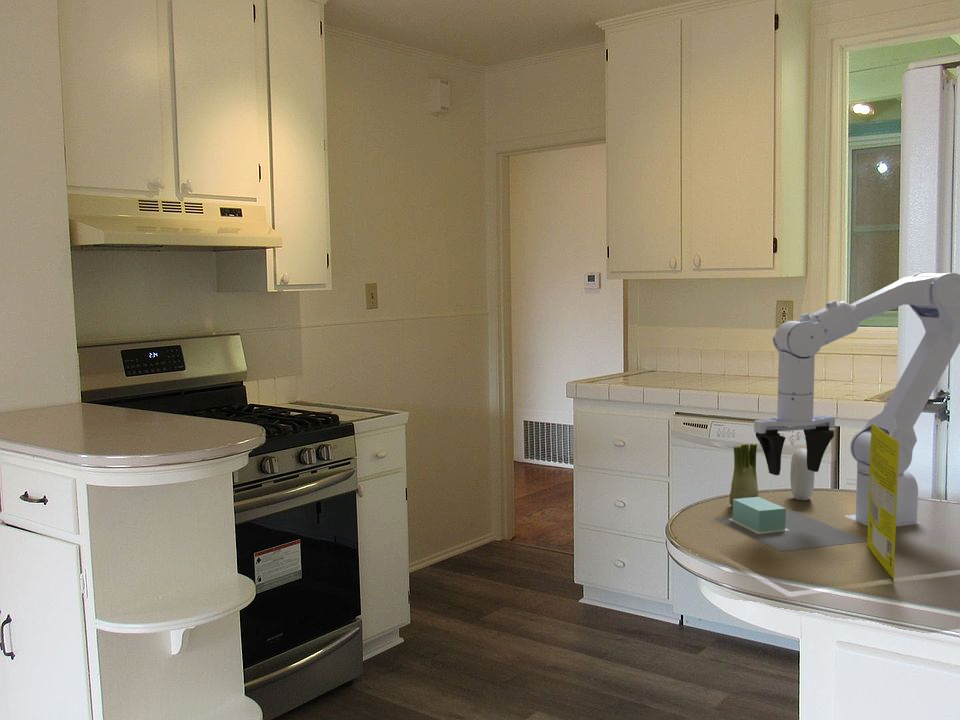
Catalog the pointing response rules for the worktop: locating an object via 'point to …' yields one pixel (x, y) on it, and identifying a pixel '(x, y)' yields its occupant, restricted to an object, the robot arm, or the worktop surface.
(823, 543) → the mat
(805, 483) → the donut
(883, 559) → the food package
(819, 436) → the robot arm
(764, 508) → the card box
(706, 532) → the worktop surface
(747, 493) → the fennel bulb
